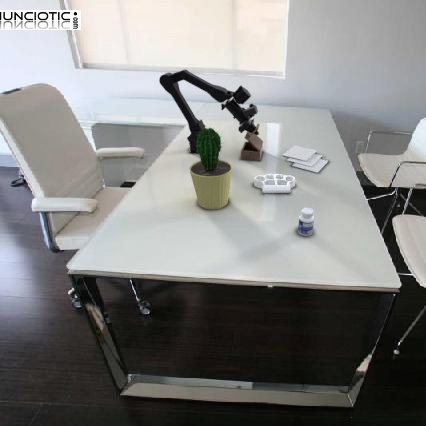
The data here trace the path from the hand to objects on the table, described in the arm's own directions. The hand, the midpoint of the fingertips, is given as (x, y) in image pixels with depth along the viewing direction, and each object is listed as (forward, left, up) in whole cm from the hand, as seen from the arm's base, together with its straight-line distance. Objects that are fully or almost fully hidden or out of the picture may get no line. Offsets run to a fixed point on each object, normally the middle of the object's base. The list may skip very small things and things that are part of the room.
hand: (258, 134), depth 159 cm
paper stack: (+24, -7, -11) cm, 27 cm away
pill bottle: (+4, -69, -12) cm, 70 cm away
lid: (-2, +1, -3) cm, 4 cm away
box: (-3, +1, -11) cm, 12 cm away
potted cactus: (-26, -44, -11) cm, 52 cm away
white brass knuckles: (+1, -35, -11) cm, 36 cm away
